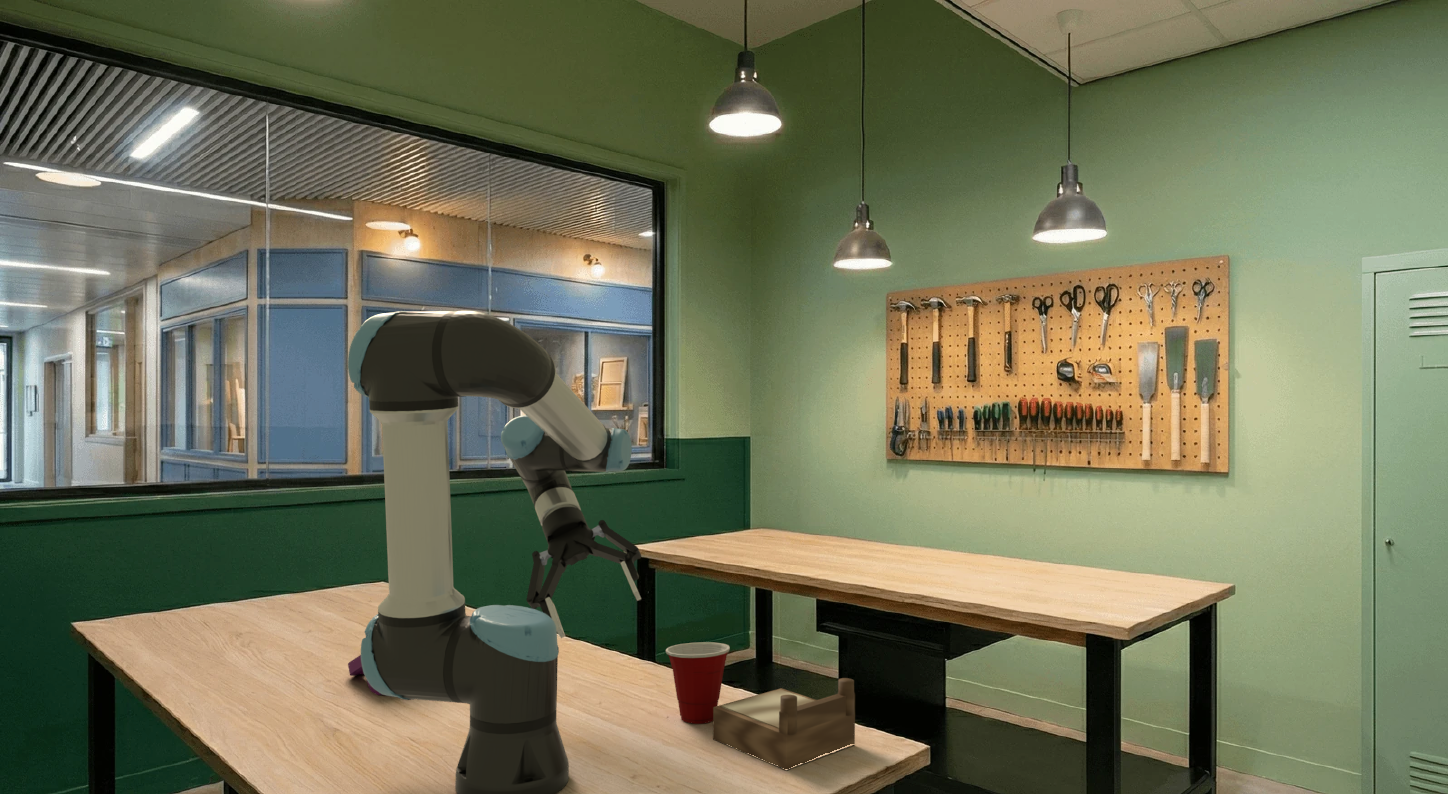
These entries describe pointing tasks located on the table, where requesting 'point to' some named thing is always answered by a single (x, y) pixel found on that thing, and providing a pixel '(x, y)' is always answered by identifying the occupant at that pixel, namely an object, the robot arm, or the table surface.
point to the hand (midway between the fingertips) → (599, 615)
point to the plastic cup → (698, 678)
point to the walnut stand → (788, 724)
